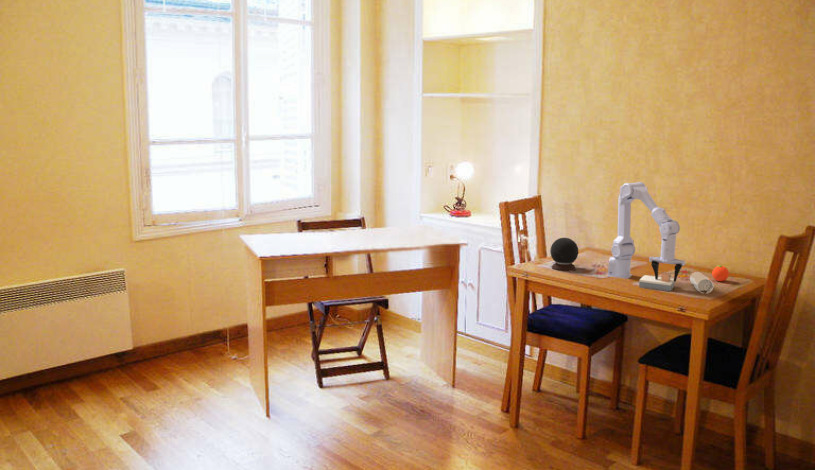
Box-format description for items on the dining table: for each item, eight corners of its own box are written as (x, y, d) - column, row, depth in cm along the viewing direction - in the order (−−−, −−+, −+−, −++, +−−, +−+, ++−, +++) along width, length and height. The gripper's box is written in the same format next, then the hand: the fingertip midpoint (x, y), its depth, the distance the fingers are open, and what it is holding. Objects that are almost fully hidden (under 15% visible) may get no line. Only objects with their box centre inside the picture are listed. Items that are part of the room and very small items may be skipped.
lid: (639, 281, 326) (640, 272, 325) (644, 276, 334) (644, 268, 333) (670, 285, 320) (671, 276, 319) (674, 280, 328) (675, 271, 327)
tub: (638, 288, 326) (639, 281, 326) (643, 283, 335) (644, 276, 334) (670, 292, 320) (670, 285, 320) (674, 287, 329) (674, 280, 328)
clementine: (706, 279, 343) (707, 264, 341) (717, 278, 345) (719, 262, 344) (719, 283, 335) (721, 268, 334) (731, 282, 338) (733, 266, 337)
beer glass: (706, 284, 332) (715, 292, 317) (689, 287, 333) (698, 295, 318) (703, 269, 331) (712, 276, 316) (687, 272, 332) (695, 279, 317)
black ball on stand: (575, 272, 353) (576, 241, 350) (547, 270, 358) (548, 239, 355) (579, 266, 365) (581, 236, 362) (552, 264, 370) (553, 234, 367)
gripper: (648, 248, 322) (646, 279, 325) (684, 252, 316) (681, 284, 318) (652, 245, 328) (649, 276, 331) (687, 249, 322) (684, 280, 324)
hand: (665, 279), depth 325 cm, fingers open, 7 cm apart
